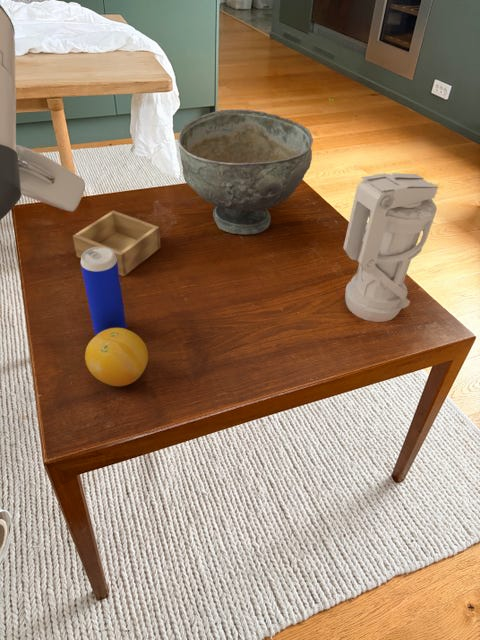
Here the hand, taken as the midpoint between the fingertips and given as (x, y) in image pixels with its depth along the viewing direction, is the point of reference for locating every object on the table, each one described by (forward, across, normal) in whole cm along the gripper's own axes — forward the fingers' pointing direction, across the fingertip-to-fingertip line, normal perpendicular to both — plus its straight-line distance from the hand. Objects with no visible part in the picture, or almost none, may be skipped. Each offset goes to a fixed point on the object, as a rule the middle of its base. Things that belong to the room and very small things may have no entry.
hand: (42, 191), depth 59 cm
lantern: (+44, -36, -6) cm, 57 cm away
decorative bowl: (+54, -3, -16) cm, 57 cm away
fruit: (+19, -8, +20) cm, 29 cm away
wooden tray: (+37, +12, +1) cm, 39 cm away
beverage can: (+24, -1, +15) cm, 28 cm away
